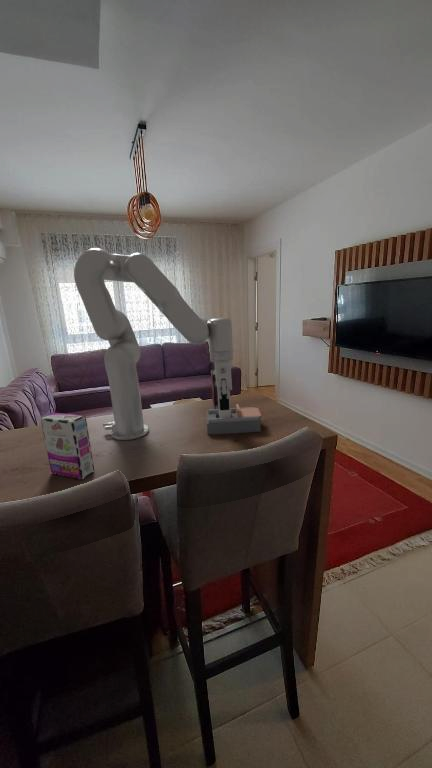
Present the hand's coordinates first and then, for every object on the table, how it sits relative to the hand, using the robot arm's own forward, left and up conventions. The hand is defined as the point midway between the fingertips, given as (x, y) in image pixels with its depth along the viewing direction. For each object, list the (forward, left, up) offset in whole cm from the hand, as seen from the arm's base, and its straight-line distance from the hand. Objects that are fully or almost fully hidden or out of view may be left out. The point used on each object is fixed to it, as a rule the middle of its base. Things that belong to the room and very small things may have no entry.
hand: (224, 407), depth 110 cm
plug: (0, 0, -4) cm, 4 cm away
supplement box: (-1, +19, -8) cm, 21 cm away
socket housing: (+3, 0, -8) cm, 8 cm away
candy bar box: (-43, -26, -8) cm, 51 cm away
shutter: (+8, 0, -3) cm, 9 cm away
